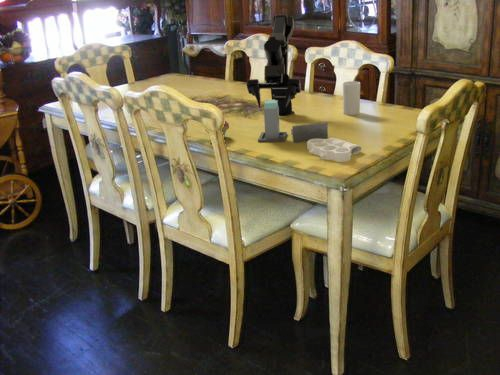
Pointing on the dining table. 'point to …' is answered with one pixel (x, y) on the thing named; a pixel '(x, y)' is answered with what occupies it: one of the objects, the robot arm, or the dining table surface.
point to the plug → (271, 119)
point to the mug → (351, 98)
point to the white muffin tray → (333, 149)
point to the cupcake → (224, 127)
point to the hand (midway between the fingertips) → (272, 106)
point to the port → (309, 132)
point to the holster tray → (281, 139)
